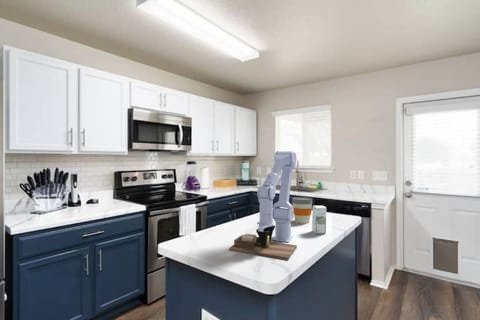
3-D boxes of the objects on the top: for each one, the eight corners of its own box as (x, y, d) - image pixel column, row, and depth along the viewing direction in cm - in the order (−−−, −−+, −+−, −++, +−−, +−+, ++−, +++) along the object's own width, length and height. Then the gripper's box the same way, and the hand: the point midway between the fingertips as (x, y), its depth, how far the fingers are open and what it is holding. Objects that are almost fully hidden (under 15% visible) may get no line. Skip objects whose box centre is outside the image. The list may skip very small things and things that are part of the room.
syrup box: (322, 231, 144) (322, 205, 144) (326, 234, 138) (326, 207, 138) (312, 231, 144) (312, 205, 144) (315, 234, 138) (315, 207, 138)
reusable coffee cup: (291, 219, 172) (291, 196, 172) (310, 219, 170) (311, 197, 170) (292, 223, 159) (292, 199, 159) (313, 224, 158) (313, 200, 157)
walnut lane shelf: (244, 239, 128) (244, 232, 128) (296, 247, 117) (296, 239, 117) (229, 250, 113) (229, 242, 113) (288, 260, 102) (288, 251, 102)
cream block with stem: (246, 241, 121) (246, 231, 121) (270, 245, 116) (270, 234, 116) (241, 245, 117) (242, 234, 117) (267, 249, 112) (267, 237, 112)
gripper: (262, 209, 123) (262, 237, 123) (251, 215, 110) (251, 247, 110) (277, 210, 120) (277, 240, 120) (267, 217, 107) (267, 250, 107)
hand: (265, 243), depth 115 cm, fingers open, 6 cm apart
